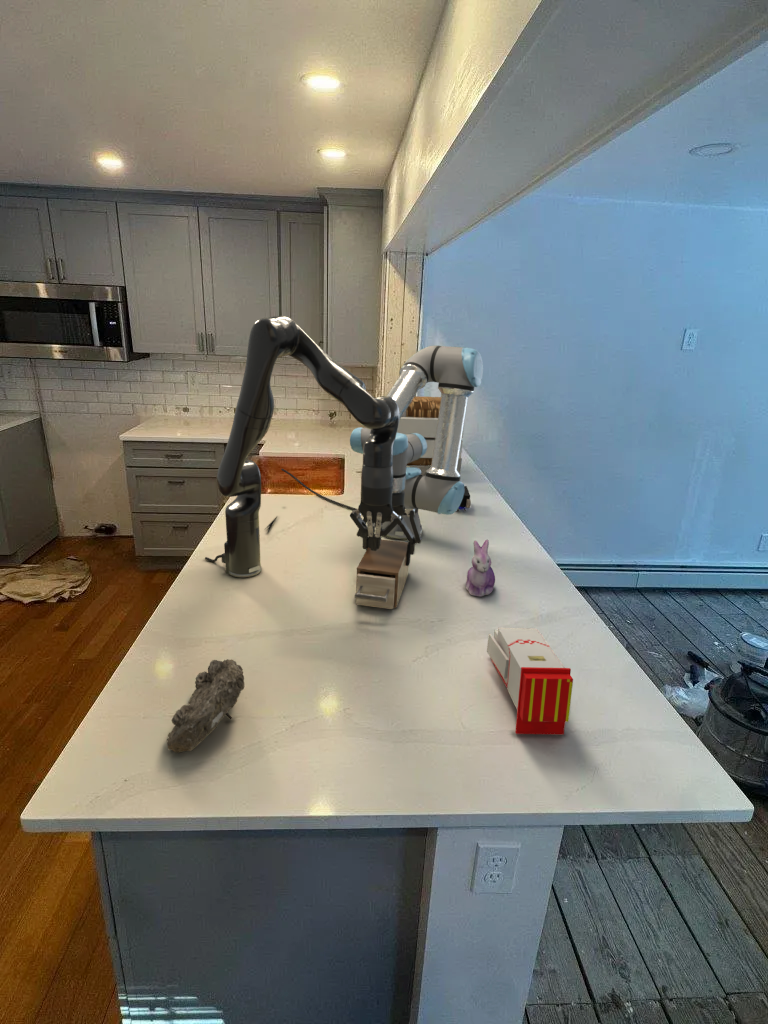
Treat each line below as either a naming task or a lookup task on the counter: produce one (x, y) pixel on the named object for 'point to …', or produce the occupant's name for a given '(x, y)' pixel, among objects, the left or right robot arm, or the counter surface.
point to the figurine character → (465, 500)
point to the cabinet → (387, 563)
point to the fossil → (206, 705)
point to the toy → (532, 679)
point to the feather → (270, 524)
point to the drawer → (375, 590)
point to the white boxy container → (424, 426)
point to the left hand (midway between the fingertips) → (374, 549)
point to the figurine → (480, 572)
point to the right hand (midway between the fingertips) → (387, 561)
